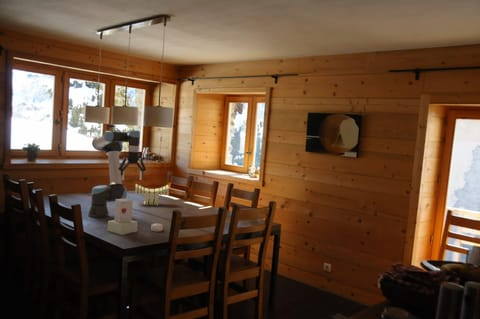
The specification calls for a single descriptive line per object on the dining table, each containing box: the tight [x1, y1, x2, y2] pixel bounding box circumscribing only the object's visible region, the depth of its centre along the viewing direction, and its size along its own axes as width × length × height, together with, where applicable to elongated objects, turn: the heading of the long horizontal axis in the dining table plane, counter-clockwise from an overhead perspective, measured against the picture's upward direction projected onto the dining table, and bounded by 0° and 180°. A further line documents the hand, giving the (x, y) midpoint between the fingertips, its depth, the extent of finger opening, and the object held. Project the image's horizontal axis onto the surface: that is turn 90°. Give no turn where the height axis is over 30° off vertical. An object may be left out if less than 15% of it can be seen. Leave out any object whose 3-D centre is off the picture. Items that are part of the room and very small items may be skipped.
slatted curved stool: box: [134, 183, 170, 206], centre depth 384 cm, size 30×16×18 cm, turn 104°
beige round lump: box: [150, 222, 164, 233], centre depth 290 cm, size 8×8×4 cm
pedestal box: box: [107, 219, 139, 236], centre depth 281 cm, size 14×14×7 cm
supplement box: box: [113, 198, 134, 223], centre depth 281 cm, size 9×9×15 cm
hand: (131, 180), depth 302 cm, fingers open, 13 cm apart
